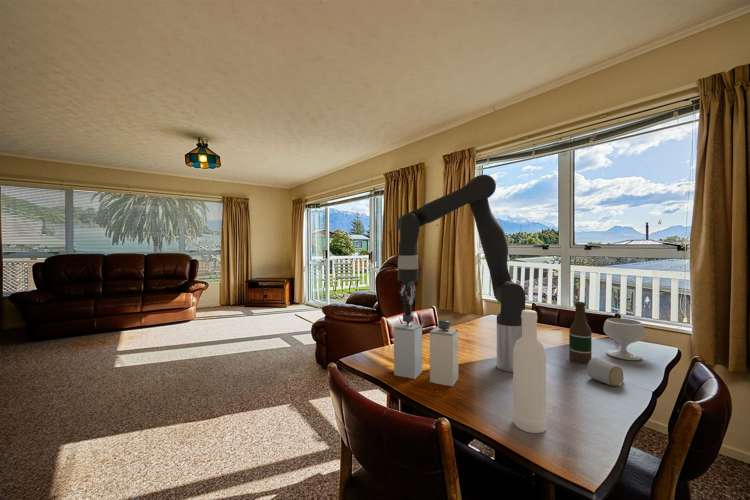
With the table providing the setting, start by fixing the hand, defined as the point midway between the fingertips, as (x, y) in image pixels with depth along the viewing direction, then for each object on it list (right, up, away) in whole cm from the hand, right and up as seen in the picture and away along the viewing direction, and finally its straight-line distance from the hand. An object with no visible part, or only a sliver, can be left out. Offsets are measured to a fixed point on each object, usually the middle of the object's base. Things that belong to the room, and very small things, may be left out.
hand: (408, 314), depth 118 cm
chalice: (+93, -22, +17) cm, 97 cm away
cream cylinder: (+68, -22, -8) cm, 72 cm away
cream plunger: (+12, -16, -6) cm, 21 cm away
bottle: (+28, -22, -35) cm, 50 cm away
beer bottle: (+71, -22, +12) cm, 75 cm away
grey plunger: (0, -15, 0) cm, 15 cm away
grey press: (0, -22, 0) cm, 22 cm away
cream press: (+12, -22, -6) cm, 26 cm away
